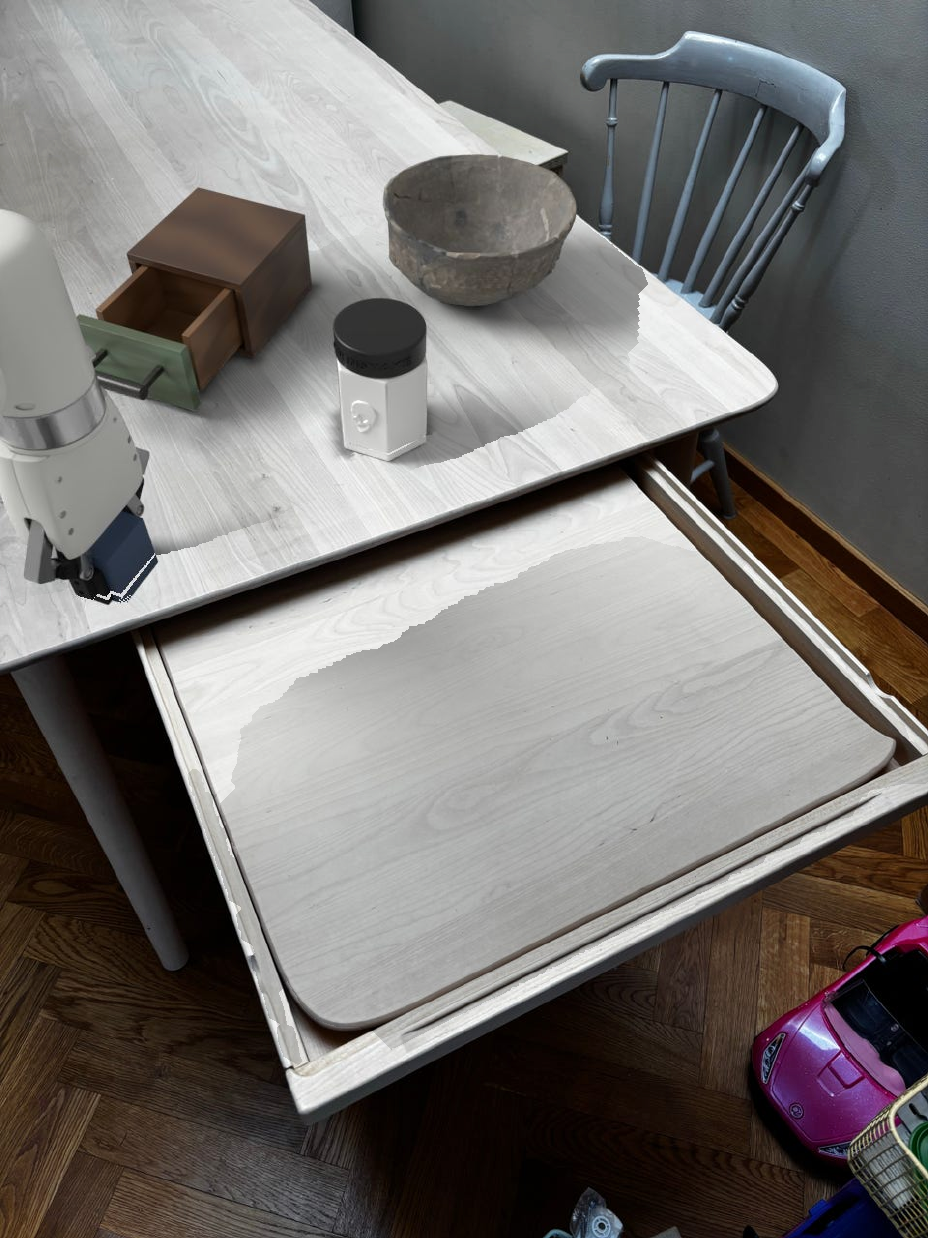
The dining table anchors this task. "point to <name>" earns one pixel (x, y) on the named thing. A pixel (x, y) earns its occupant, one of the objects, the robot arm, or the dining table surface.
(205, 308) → the drawer
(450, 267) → the bowl
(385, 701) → the dining table surface
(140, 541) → the block
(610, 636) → the dining table surface
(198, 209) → the cabinet
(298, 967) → the dining table surface
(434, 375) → the dining table surface
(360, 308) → the jar
